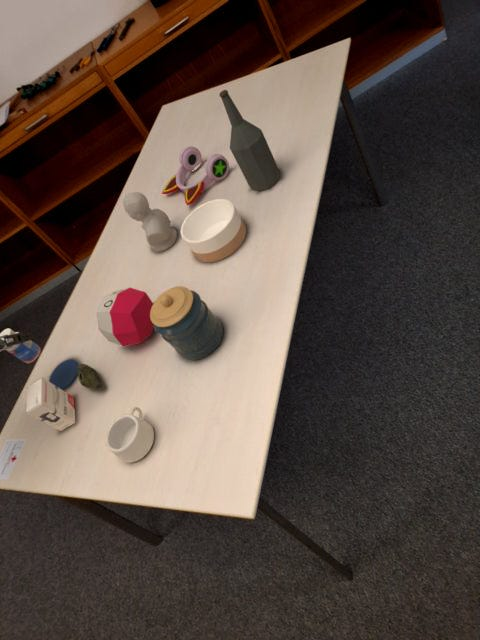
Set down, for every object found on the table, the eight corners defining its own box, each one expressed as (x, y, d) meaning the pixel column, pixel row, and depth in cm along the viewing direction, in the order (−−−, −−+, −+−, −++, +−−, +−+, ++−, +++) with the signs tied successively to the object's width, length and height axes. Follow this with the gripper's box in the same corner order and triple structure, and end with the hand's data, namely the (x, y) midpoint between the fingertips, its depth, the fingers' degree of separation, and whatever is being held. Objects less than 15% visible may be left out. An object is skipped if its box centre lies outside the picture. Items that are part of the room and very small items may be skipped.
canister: (219, 309, 114) (185, 265, 101) (228, 348, 105) (191, 304, 93) (176, 330, 116) (137, 289, 104) (181, 369, 108) (139, 330, 95)
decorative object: (132, 311, 105) (78, 309, 109) (148, 358, 114) (97, 354, 118) (156, 278, 117) (106, 277, 121) (169, 323, 125) (122, 321, 129)
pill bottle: (23, 367, 115) (-7, 347, 108) (26, 351, 119) (-4, 331, 112) (40, 358, 114) (10, 338, 108) (42, 343, 118) (13, 322, 111)
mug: (149, 463, 96) (132, 454, 91) (114, 463, 100) (97, 454, 96) (162, 412, 102) (148, 401, 98) (129, 413, 107) (114, 403, 102)
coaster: (48, 396, 123) (47, 396, 123) (52, 368, 130) (50, 367, 129) (77, 383, 121) (76, 382, 121) (80, 355, 128) (78, 354, 127)
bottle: (270, 166, 142) (229, 77, 120) (286, 175, 135) (246, 83, 114) (245, 185, 142) (200, 99, 120) (260, 196, 135) (215, 107, 113)
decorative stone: (75, 393, 119) (62, 385, 115) (86, 368, 123) (74, 359, 119) (105, 394, 114) (93, 385, 110) (116, 368, 118) (104, 358, 114)
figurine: (152, 259, 140) (114, 215, 126) (152, 234, 148) (116, 190, 134) (178, 247, 138) (142, 201, 124) (176, 223, 146) (143, 176, 132)
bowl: (237, 210, 135) (225, 189, 129) (253, 241, 124) (241, 220, 118) (189, 239, 138) (175, 219, 132) (201, 272, 126) (186, 252, 120)
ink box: (59, 405, 119) (26, 385, 111) (74, 396, 118) (42, 376, 110) (60, 432, 113) (24, 413, 105) (76, 422, 113) (41, 403, 104)
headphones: (224, 149, 144) (178, 184, 139) (234, 176, 151) (190, 209, 146) (192, 141, 157) (149, 172, 152) (203, 165, 164) (161, 196, 159)
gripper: (-21, 330, 96) (36, 318, 112) (-66, 345, 100) (-5, 331, 116) (-10, 362, 96) (46, 346, 112) (-55, 376, 101) (4, 358, 117)
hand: (20, 339), depth 114 cm, fingers closed on pill bottle, 5 cm apart
